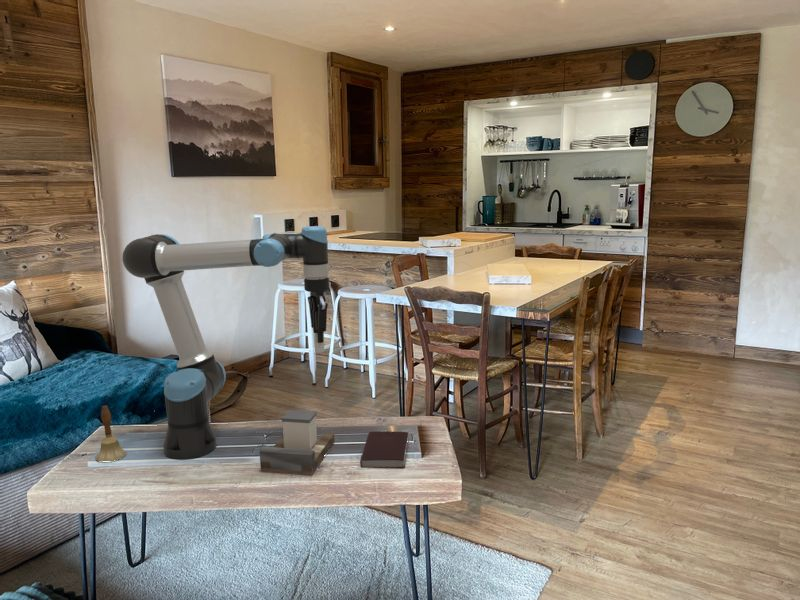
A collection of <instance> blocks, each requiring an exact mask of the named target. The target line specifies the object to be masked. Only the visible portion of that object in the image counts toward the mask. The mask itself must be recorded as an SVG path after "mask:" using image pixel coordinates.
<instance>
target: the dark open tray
mask: <svg viewBox="0 0 800 600" xmlns="http://www.w3.org/2000/svg"><path fill="white" fill-rule="evenodd" d="M334 442H335V433H331V432H324V433H323V435H322V436H321V437H320V438H318V437H317V444H316V445H315V446H314V447H313V449H312V450H303V449H290V448H284V437H283V435H282V436H281V437H280V438H279V440H278V441H277V442H276V443H275V444H274V445H273V446H263V447H261V449H259V462H260V463H259V464H260V467H259V468H260V472H264V473H265V472H266V473H278V474H279V473H280V474H289V475H290V474H291V475H302V476H313V475H314V473H315V472H316V471H317V470H318V467H319V466H320V465H321V463H322V462H323V460H324V459H325V457H324V455H325V454H326V453H327V452H328V450H329V449H330V448H331V449H332V447H333V446H334V444H335V443H334ZM333 443H334V444H333ZM332 445H333V446H332ZM331 446H332V447H331ZM331 449H330V450H331ZM330 450H329V451H330ZM328 453H329V452H328ZM328 453H327V454H328ZM323 458H324V459H323Z"/></svg>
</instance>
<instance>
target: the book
mask: <svg viewBox="0 0 800 600" xmlns="http://www.w3.org/2000/svg"><path fill="white" fill-rule="evenodd" d="M408 437H409V432H408V431H390V430H389V431H385V430H384V431H369V432H368V435H367V438H366V441H365V445H364V448H363V451H362V453H361V457H360V461H359V462H360V467H361V468H373V469H376V468H377V469H405V468H406V467H405V466H406V460H407V459H406V458H407V457H406V458H405V450H406V444H407V438H408ZM408 439H409V438H408Z"/></svg>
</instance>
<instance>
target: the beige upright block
mask: <svg viewBox="0 0 800 600" xmlns="http://www.w3.org/2000/svg"><path fill="white" fill-rule="evenodd" d="M317 414H318V413H317V411H313V410H312V411H311V410H298V409H289V410H288V411H287V412H286V413H285V414H284V415H283V416H282V417H281V418H280V419H281V422H282V432H283V435H282V436H283V437H284V448H290V449H303V450H312V449H313V447H314V446H315V445H316V444H317V438H318V432H317V431H318V430H317V429H318V428H317Z"/></svg>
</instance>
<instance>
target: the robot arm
mask: <svg viewBox="0 0 800 600" xmlns="http://www.w3.org/2000/svg"><path fill="white" fill-rule="evenodd" d="M327 233H328V232H327V229H326V227H325V226H322V225H321V226H320V225H314V226H313V225H312V226H310V225H309V226H303V227H302V228H301V232H299V233H298V232H297V233H276V232H273V233H265V234H264V235H263V236H262V238H256V239H243V240H242V239H237V240H225V241H210V242H208V241H207V242H197V243H196V242H195V243H194V242H193V243H180V242H178V240H177V239H176V238H174V237H173V236H170V235H168V234H158V233H156V234H151V235H148V236H145V237H142V238H136V239H133V240H131V241H130V242H129V243H127V245H126V246H125V248H124V249H123V252H122V255H121V256H122V258H121V259H122V264H123V266H124V268H125V270H126V271H127V272H128V273H130V275H132V276H135V277H137V278H139V279H140V278H141V279H144V281H145V283H146V285H148V286H150V287H152V288H153V290H154V292H155V296H156V298H157V301H158V303H159V304H158V305H159V307H160V310H161V312H162V314H163V315H162V316H163V317H164V321H165V323H166V326H167V328H168V331H169V333H170V337H171V339H172V342H173V345H174V347H175V351H176V353H177V356H178V358H179V360H178V362H177V364H176V369H177V371H172V372H171V373H170V374H168V375H167V376H166V378H165V380H164V382H163V385H164V387H163V394H164V395H163V396H164V400H165V401H164V403H165V408H166V409H165V410H166V420H167V430H166V435H165V439H164V443H163V450H164V451H163V452H164V455H165V456H166V457H168V458H171V459H175V460H188V459H194V458H195V459H196V458H198V457H202V456H204V455H205V456H206V455H207V454H209V453H211V452H213V450H215V449H216V447H217V445H218V442H217V435H216V434H215V432H214V430H213V428H212V425H211V423H210V421H209V409H208V408H209V407H208V403H209V402H210V401H211V400H212V399H213V398H214V397H215V396H216V395H218V394H219V393H220V391H222V389H223V387H224V385H225V382H226V377H227V374H226V370H225V367H224V366H223V363H221V362H220V361H218V360H217V359H216V358H215V355H214V353H213V352H212V351H210V350H207V347H206V344H205V342H204V339H203V335H202V333H201V330H200V327H199V325H198V323H197V319H196V316H195V313H194V310H193V308H192V305H191V302H190V299H189V296H188V294H187V291H186V289H185V288H186V287H185V286H184V283H183V280H182V278H183V276H184V274H185V271H197V270H209V269H210V270H213V269H223V268H224V269H225V268H240V267H241V268H242V267H253V266H255V267H256V266H260V267H261V266H262V267H266V268H270V267H275V266H277V265H279V264H280V263H281V262H283V261H284V260H286V259H302V260H303V261H302V262H303V263H302V266H303V267H302V268H303V269H302V270H303V277H304V279H303V283H304V284H303V285H304V287H303V288H304V291H306V292H309V293H310V295H309V296H308V297H307V302H308V307H309V316H310V326H311V328H312V331H313V339H314V340H313V341H314V343H313V344H314V353H315V354H318V353H319V354H320V353H325V350H326V349H325V332H327V320H328V319H327V316H328V308H329V307H328V306H329V305H328V302H326V296H325V293H324V292H325V291H329V289H330V278H329V269H330V268H331V266H330V265H329V252H328V251H329V248H328V247H329V246H328V244H329V241H328V236H327V235H328V234H327Z"/></svg>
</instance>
